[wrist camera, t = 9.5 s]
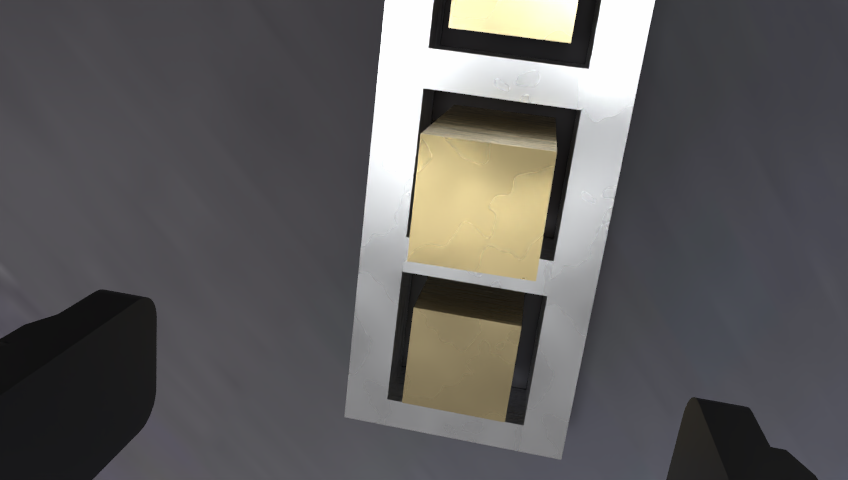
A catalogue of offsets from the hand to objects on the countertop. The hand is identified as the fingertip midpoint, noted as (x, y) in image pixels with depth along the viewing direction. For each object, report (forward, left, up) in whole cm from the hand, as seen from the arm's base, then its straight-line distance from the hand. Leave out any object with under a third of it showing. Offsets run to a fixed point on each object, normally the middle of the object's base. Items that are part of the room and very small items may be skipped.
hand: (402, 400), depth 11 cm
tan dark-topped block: (0, 0, -20) cm, 20 cm away
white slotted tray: (0, 0, -20) cm, 20 cm away
